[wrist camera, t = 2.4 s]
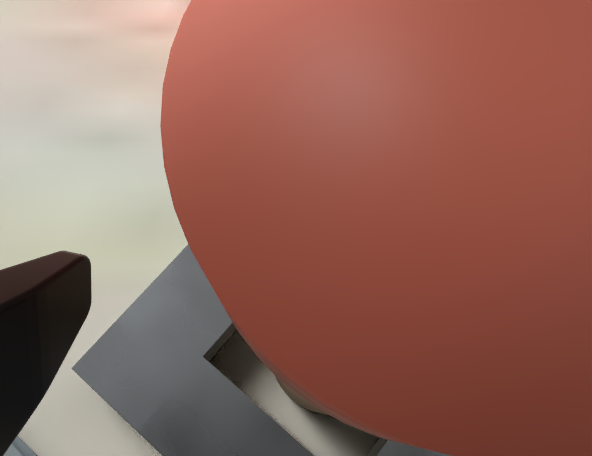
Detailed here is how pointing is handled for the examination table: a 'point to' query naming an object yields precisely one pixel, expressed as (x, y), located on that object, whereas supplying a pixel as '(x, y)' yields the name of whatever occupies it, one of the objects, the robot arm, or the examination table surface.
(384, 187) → the pin
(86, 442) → the examination table surface
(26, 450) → the pin tray
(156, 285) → the plate
